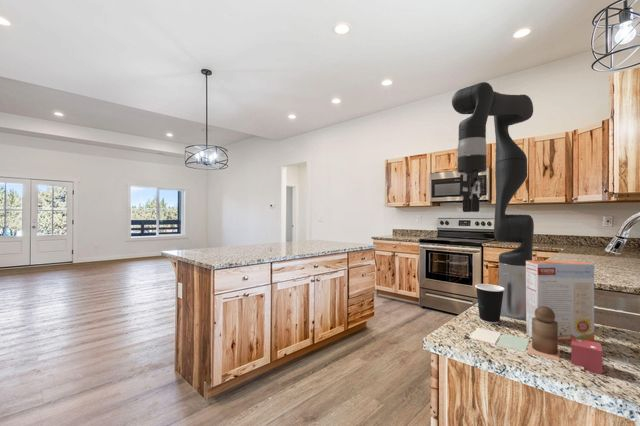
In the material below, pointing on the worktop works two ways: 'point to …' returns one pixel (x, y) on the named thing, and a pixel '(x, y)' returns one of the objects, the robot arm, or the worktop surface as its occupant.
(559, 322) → the cracker box
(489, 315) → the dixie cup
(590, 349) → the die
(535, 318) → the pawn
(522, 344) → the board
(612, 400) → the worktop surface
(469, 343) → the worktop surface
